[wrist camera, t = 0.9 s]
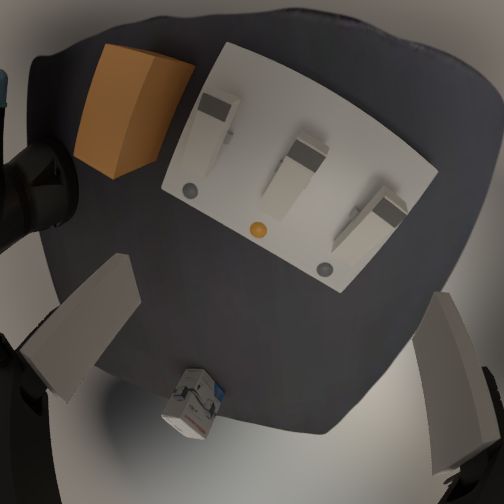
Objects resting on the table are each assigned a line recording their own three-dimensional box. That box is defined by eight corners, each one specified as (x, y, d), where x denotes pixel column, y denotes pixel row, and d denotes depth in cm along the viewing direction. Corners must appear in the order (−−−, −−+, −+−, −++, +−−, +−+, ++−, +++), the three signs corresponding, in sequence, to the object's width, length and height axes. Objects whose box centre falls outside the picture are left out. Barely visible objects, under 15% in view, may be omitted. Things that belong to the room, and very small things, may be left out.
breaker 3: (333, 241, 27) (330, 254, 25) (384, 185, 21) (385, 196, 19) (353, 254, 27) (352, 267, 25) (405, 202, 21) (408, 214, 20)
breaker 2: (262, 197, 26) (255, 208, 25) (301, 130, 20) (297, 137, 19) (285, 211, 26) (280, 223, 25) (329, 147, 20) (326, 155, 19)
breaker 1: (190, 157, 26) (179, 166, 24) (214, 86, 20) (203, 90, 19) (212, 169, 26) (202, 179, 25) (241, 98, 20) (232, 103, 19)
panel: (171, 182, 31) (155, 191, 28) (234, 46, 22) (222, 39, 18) (339, 280, 32) (340, 299, 29) (429, 165, 23) (442, 174, 20)
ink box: (225, 392, 50) (207, 441, 41) (206, 393, 52) (187, 438, 43) (203, 367, 47) (179, 418, 37) (183, 368, 49) (159, 416, 39)
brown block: (118, 141, 29) (73, 155, 23) (152, 51, 23) (106, 43, 16) (156, 160, 30) (113, 179, 23) (196, 65, 23) (155, 56, 16)
